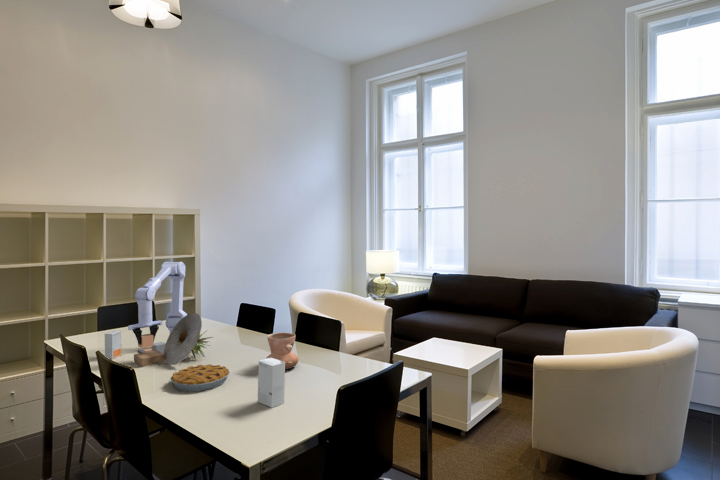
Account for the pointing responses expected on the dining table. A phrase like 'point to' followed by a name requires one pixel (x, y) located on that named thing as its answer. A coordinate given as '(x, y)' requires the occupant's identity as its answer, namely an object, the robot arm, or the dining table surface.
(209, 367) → the pie
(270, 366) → the skincare box
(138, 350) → the tile
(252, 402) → the dining table surface
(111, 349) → the skincare box
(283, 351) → the ceramic jug
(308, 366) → the dining table surface
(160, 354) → the walnut block
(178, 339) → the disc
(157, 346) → the slate grey cube
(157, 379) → the dining table surface
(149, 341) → the terracotta cube
